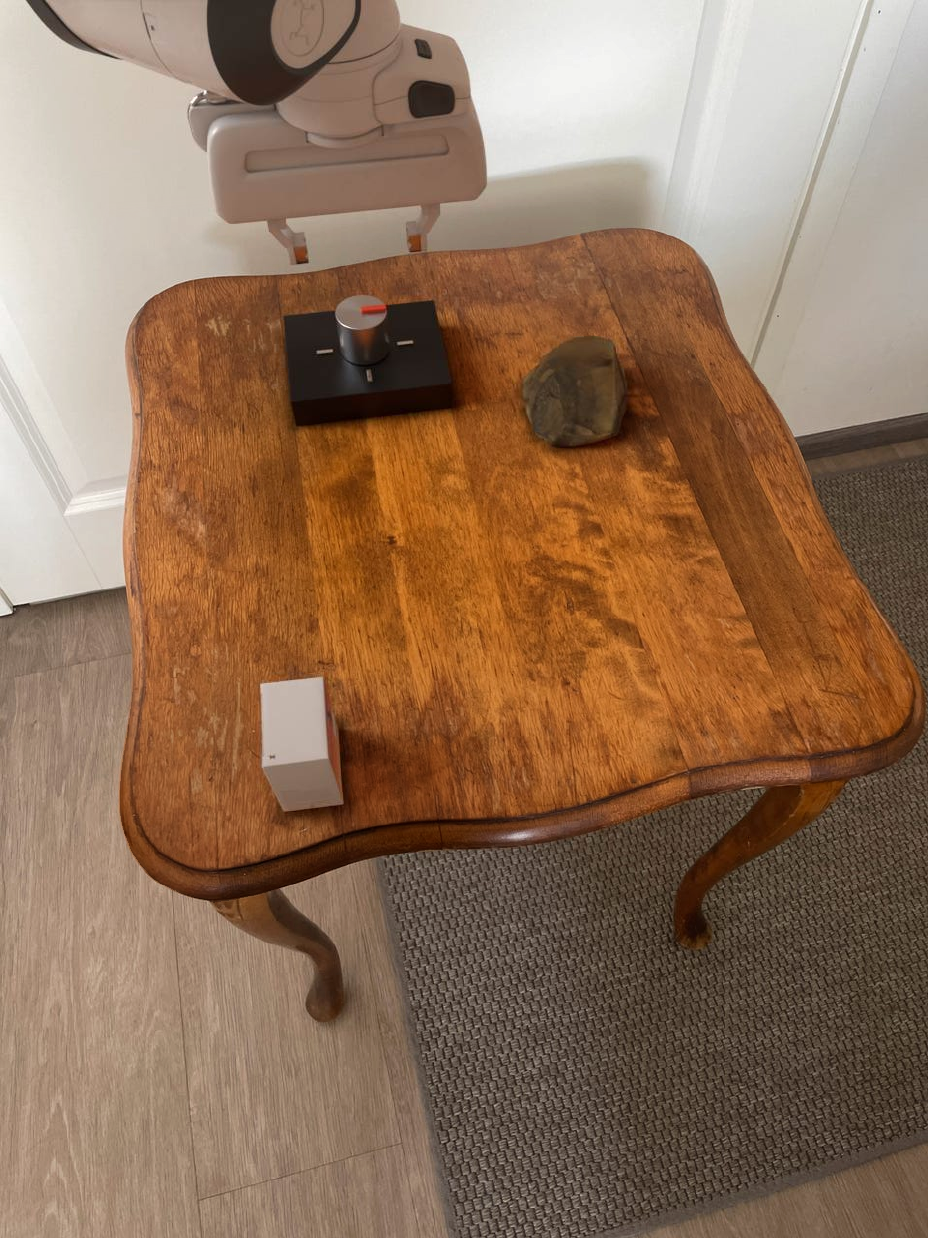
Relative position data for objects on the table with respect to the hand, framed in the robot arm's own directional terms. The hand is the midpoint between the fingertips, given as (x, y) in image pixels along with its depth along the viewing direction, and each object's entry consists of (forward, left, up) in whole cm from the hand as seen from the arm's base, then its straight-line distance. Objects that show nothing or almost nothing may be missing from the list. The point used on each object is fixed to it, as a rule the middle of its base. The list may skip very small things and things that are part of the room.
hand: (358, 253), depth 72 cm
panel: (0, 0, -13) cm, 13 cm away
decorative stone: (+18, -7, -13) cm, 23 cm away
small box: (-8, -38, -13) cm, 41 cm away
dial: (0, 0, -10) cm, 10 cm away
